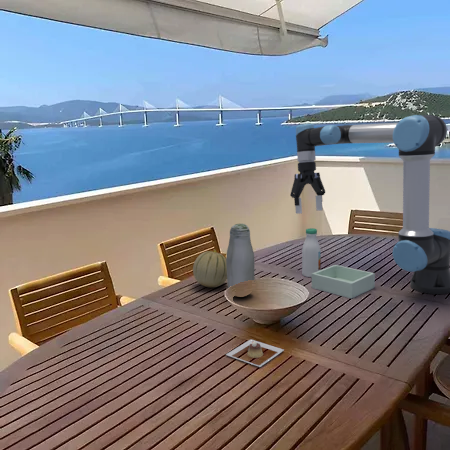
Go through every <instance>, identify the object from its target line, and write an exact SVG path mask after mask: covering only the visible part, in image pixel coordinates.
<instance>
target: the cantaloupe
mask: <svg viewBox="0 0 450 450" xmlns="http://www.w3.org/2000/svg"><path fill="white" fill-rule="evenodd" d="M192 272H193V276H194V278H195V281H196V282H197V283H198V284H199V285H202V286H204V287H206V288H217V287H219V286H221V285H223V284H224V283H226V282H227V266H226V256H225V255H223V254H221V253H220V252H217V250H216V249H215V248H213V251H210V250H209V251H204V252H201V253H200V254H199V255H198V256H197V257H196V259H195V261H194V262H193V267H192Z"/></svg>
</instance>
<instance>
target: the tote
mask: <svg viewBox="0 0 450 450" xmlns="http://www.w3.org/2000/svg"><path fill="white" fill-rule="evenodd" d="M375 277H376V273H375V272H371V271H366V270H361V269H356V268H352V267H348V266H343V265H340V264H339V265H338V264H333V265H331V266H328V267H326V268H323V269H321V270H320V271H317V272H315V273H312V277H311V289H314V290H318V291H322V292H326V293H329V294H333V295H337V296H340V297H344V298H348V299H354V298H356V297H358V296H360V295H363V294H364V293H366V292H368V291H371V290H373V289H375V282H376V281H375V279H376V278H375Z"/></svg>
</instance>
